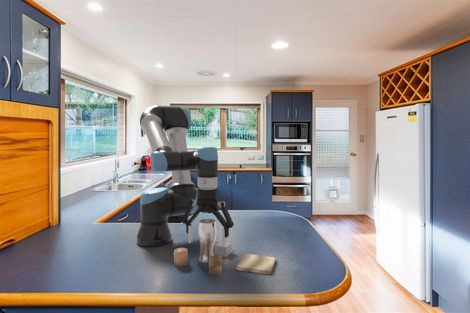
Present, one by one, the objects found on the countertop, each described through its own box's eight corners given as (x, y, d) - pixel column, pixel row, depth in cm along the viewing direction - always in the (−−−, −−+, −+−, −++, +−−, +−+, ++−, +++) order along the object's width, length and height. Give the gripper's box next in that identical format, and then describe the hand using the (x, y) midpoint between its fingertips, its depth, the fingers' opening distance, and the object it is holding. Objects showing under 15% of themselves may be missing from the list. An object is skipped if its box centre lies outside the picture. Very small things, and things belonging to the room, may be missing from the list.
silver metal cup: (199, 264, 105) (199, 224, 104) (196, 257, 112) (196, 219, 111) (218, 262, 107) (218, 222, 106) (214, 255, 114) (214, 217, 113)
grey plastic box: (214, 255, 114) (214, 245, 114) (220, 250, 119) (220, 241, 119) (226, 257, 112) (226, 247, 112) (231, 252, 117) (231, 243, 117)
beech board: (236, 269, 101) (236, 266, 101) (244, 256, 113) (244, 253, 113) (270, 274, 98) (270, 271, 98) (275, 260, 109) (275, 257, 109)
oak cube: (208, 273, 98) (208, 260, 98) (209, 267, 103) (209, 255, 103) (221, 273, 99) (222, 260, 98) (221, 267, 103) (221, 255, 103)
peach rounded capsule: (171, 265, 104) (171, 252, 104) (177, 260, 109) (177, 247, 109) (184, 267, 103) (184, 253, 103) (189, 261, 108) (189, 248, 107)
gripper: (172, 187, 108) (172, 243, 109) (236, 191, 101) (236, 250, 102) (181, 184, 115) (181, 237, 116) (242, 188, 108) (241, 243, 109)
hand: (207, 243), depth 109 cm, fingers open, 13 cm apart
